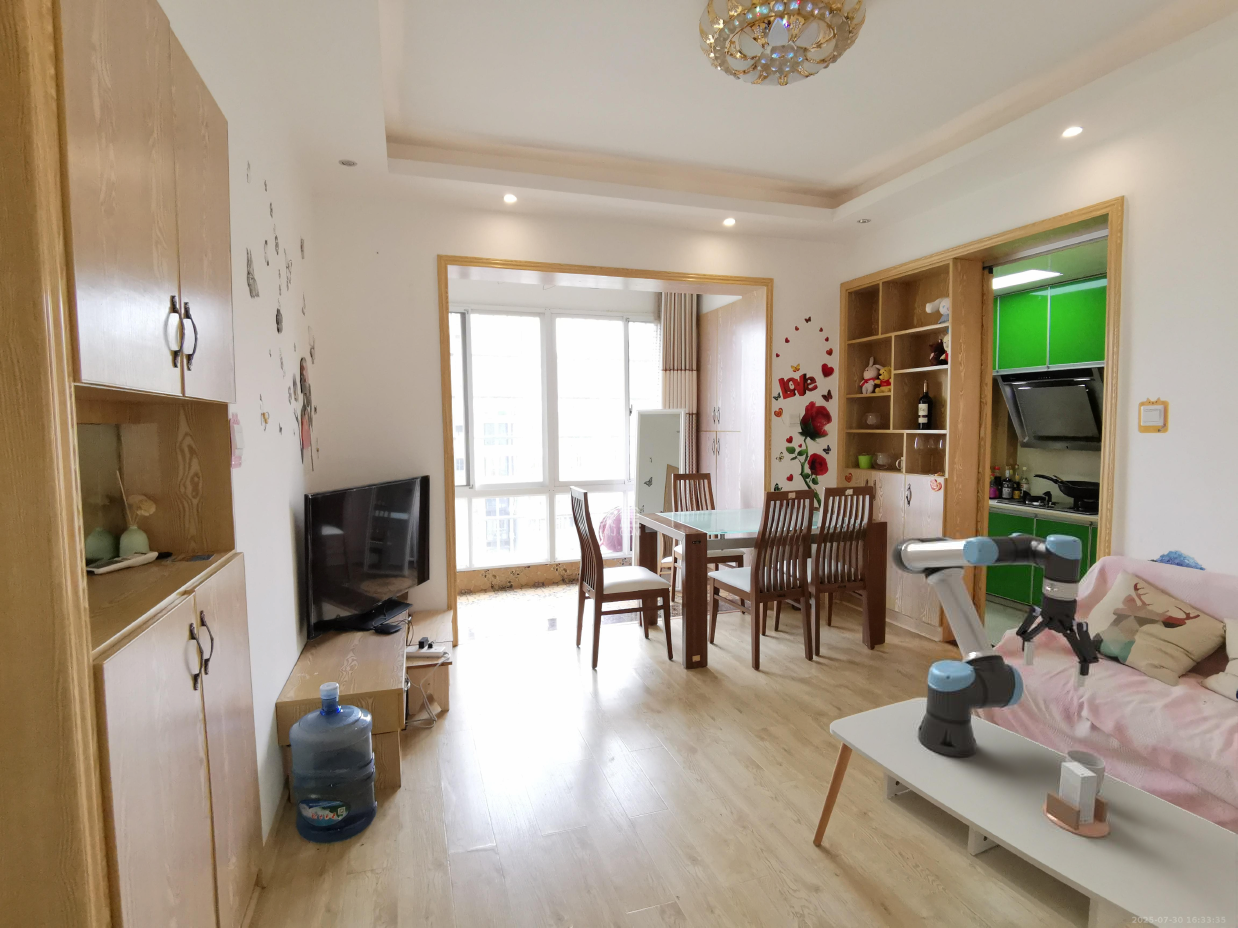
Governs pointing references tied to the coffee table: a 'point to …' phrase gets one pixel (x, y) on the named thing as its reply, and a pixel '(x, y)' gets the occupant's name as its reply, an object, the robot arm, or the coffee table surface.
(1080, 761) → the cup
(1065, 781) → the skincare box
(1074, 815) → the napkin holder
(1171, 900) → the coffee table surface
